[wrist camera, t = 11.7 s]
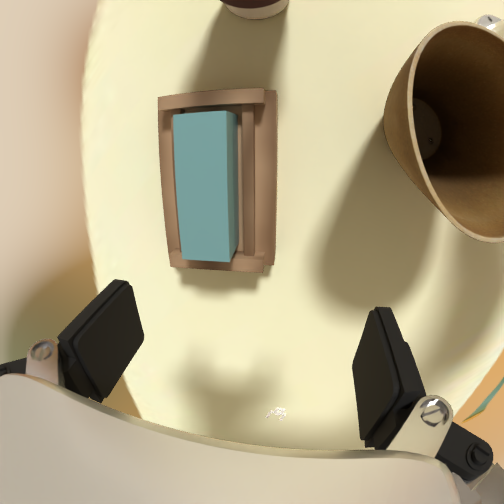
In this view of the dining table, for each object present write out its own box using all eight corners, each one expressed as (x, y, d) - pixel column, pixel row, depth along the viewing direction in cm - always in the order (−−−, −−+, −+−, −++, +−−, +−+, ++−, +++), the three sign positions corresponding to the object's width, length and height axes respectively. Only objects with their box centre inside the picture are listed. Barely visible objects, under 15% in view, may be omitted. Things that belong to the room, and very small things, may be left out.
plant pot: (460, 81, 21) (550, 67, 6) (457, 197, 27) (543, 247, 12) (346, 55, 23) (395, -10, 8) (347, 185, 28) (400, 237, 14)
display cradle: (277, 95, 26) (274, 86, 21) (275, 253, 33) (272, 274, 28) (169, 102, 27) (148, 97, 22) (178, 249, 34) (162, 267, 30)
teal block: (237, 115, 24) (226, 110, 20) (239, 241, 29) (229, 262, 25) (193, 117, 25) (173, 114, 20) (198, 239, 30) (182, 259, 25)
